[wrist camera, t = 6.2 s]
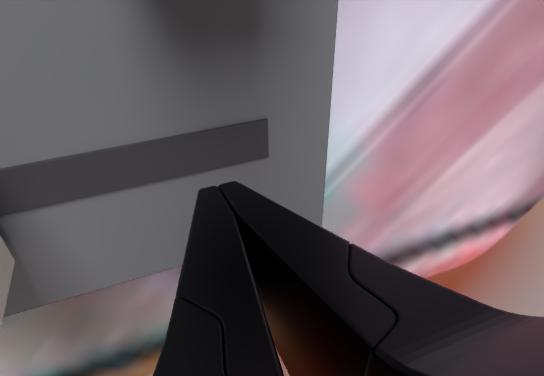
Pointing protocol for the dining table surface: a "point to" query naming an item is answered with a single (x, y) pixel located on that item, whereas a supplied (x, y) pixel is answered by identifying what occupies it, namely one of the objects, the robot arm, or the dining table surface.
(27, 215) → the switch panel
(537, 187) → the dining table surface
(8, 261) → the tab
